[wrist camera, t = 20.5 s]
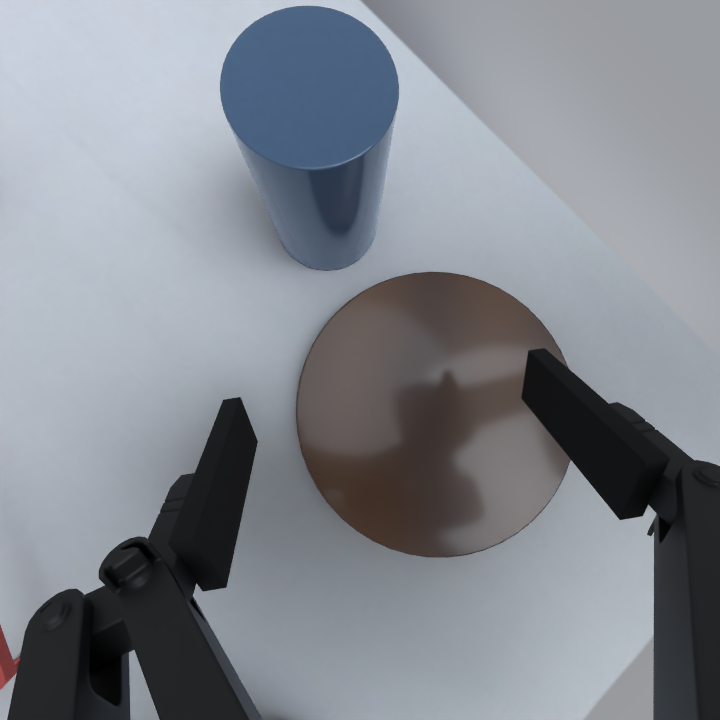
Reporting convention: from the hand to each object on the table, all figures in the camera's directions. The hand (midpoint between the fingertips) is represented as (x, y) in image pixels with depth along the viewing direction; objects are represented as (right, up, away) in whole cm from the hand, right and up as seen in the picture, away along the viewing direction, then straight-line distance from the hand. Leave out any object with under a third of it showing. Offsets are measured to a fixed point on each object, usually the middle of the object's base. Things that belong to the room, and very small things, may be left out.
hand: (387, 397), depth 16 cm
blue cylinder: (-4, +11, +8) cm, 15 cm away
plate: (+4, -2, +7) cm, 8 cm away
